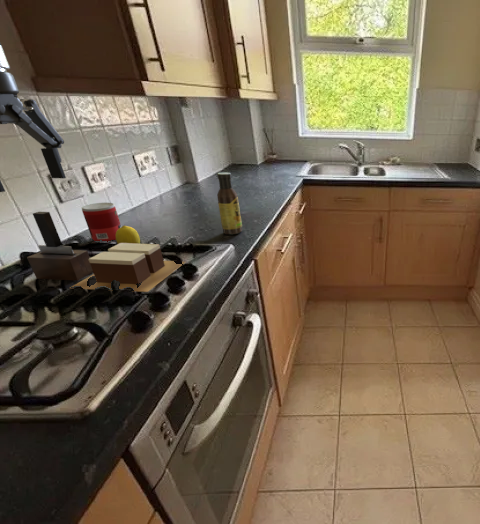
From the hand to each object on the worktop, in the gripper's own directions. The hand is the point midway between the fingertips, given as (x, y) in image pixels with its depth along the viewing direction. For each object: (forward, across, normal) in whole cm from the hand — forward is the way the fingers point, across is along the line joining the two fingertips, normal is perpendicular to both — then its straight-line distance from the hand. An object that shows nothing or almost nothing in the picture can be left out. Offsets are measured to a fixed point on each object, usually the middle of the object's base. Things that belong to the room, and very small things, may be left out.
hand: (30, 184), depth 71 cm
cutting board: (+23, +2, -15) cm, 28 cm away
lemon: (+23, +18, -3) cm, 30 cm away
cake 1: (+22, -1, -15) cm, 26 cm away
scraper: (+22, 0, 0) cm, 22 cm away
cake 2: (+22, +5, -15) cm, 27 cm away
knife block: (+23, 0, 0) cm, 23 cm away
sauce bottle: (+24, +37, -25) cm, 50 cm away
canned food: (+23, +26, +10) cm, 36 cm away
